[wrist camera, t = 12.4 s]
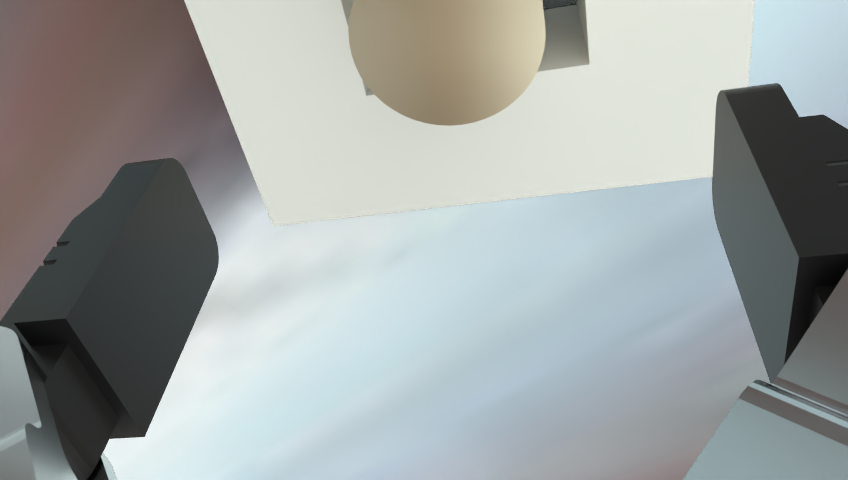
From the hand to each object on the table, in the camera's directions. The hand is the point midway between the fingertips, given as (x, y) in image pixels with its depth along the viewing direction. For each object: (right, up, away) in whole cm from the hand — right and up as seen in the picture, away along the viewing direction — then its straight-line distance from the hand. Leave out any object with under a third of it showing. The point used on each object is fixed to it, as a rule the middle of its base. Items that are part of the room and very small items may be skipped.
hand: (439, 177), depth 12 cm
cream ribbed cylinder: (+1, +8, +10) cm, 13 cm away
